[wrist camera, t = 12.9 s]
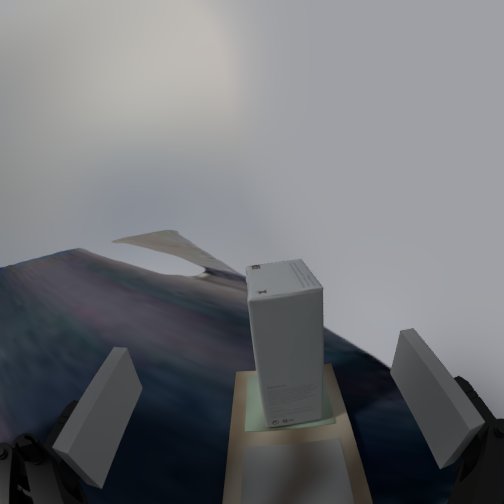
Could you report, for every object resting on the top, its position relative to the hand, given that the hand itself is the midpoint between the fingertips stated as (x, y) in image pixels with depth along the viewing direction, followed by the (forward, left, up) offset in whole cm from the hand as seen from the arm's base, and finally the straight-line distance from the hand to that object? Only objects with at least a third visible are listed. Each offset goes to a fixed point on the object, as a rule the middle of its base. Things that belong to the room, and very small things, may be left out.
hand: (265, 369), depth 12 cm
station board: (+2, +7, -16) cm, 17 cm away
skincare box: (+2, +12, -15) cm, 19 cm away
